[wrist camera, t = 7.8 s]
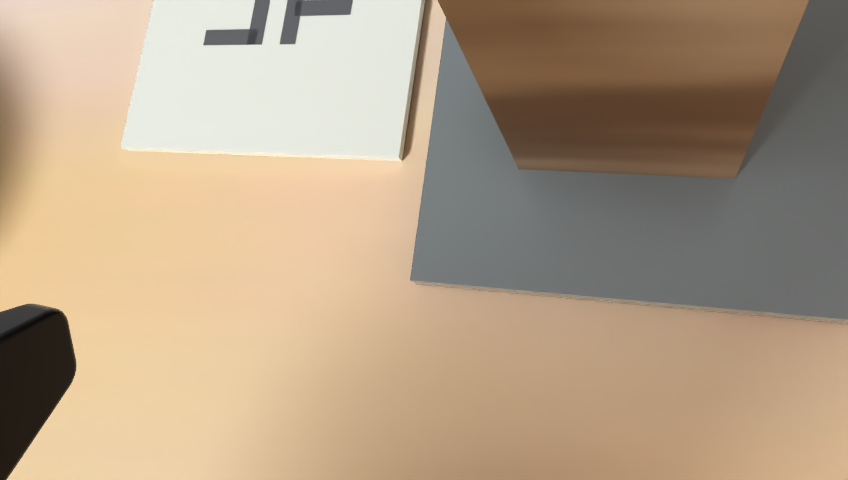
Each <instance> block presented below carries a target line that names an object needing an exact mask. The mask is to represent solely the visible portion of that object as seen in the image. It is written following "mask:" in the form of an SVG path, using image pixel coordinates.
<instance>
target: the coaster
mask: <svg viewBox="0 0 848 480" xmlns="http://www.w3.org/2000/svg"><path fill="white" fill-rule="evenodd" d="M410 281H412V282H414V283H415V284H418V285H429V286H440V287H451V288H462V289H473V290H484V291H495V292H506V293H517V294H528V295H539V296H550V297H561V298H572V299H583V300H594V301H604V302H615V303H626V304H637V305H648V306H659V307H670V308H681V309H692V310H703V311H714V312H725V313H736V314H747V315H758V316H769V317H780V318H791V319H802V320H813V321H824V322H834V323H845V324H848V0H809V1H808V4H807V6H806V9H805V11H804V14H803V16H802V18H801V21H800V23H799V26H798V28H797V30H796V33H795V35H794V38H793V40H792V43H791V45H790V47H789V50H788V52H787V55H786V57H785V59H784V62H783V64H782V67H781V69H780V72H779V74H778V76H777V79H776V81H775V84H774V86H773V89H772V91H771V93H770V96H769V98H768V101H767V103H766V105H765V108H764V110H763V113H762V115H761V118H760V120H759V122H758V125H757V127H756V130H755V132H754V134H753V137H752V139H751V142H750V144H749V147H748V149H747V151H746V154H745V156H744V159H743V161H742V163H741V166H740V168H739V171H738V173H737V176H736V178H735V179H730V178H707V177H684V176H661V175H638V174H616V173H593V172H570V171H547V170H524V169H518V166H517V164H516V162H515V160H514V158H513V156H512V154H511V152H510V150H509V148H508V146H507V144H506V141H505V139H504V137H503V135H502V133H501V131H500V129H499V127H498V125H497V123H496V121H495V119H494V116H493V114H492V112H491V110H490V108H489V106H488V104H487V102H486V100H485V98H484V96H483V93H482V91H481V89H480V87H479V85H478V83H477V81H476V79H475V77H474V75H473V73H472V71H471V68H470V66H469V64H468V62H467V60H466V58H465V56H464V54H463V52H462V50H461V48H460V46H459V43H458V41H457V39H456V37H455V35H454V33H453V31H452V29H451V27H450V25H449V23H448V21H447V18H446V23H445V30H444V38H443V45H442V52H441V60H440V67H439V74H438V81H437V89H436V96H435V103H434V111H433V118H432V125H431V132H430V140H429V147H428V154H427V161H426V169H425V176H424V183H423V191H422V198H421V205H420V212H419V220H418V227H417V234H416V241H415V249H414V256H413V263H412V271H411V278H410Z"/></svg>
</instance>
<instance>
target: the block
mask: <svg viewBox="0 0 848 480" xmlns="http://www.w3.org/2000/svg"><path fill="white" fill-rule="evenodd" d="M808 1H809V0H438V2H439V4H440V6H441V8H442V10H443V12H444V14H445V16H446V18H447V21H448V23H449V25H450V27H451V29H452V31H453V33H454V35H455V37H456V39H457V41H458V43H459V46H460V48H461V50H462V52H463V54H464V56H465V58H466V60H467V62H468V64H469V66H470V68H471V71H472V73H473V75H474V77H475V79H476V81H477V83H478V85H479V87H480V89H481V91H482V93H483V96H484V98H485V100H486V102H487V104H488V106H489V108H490V110H491V112H492V114H493V116H494V119H495V121H496V123H497V125H498V127H499V129H500V131H501V133H502V135H503V137H504V139H505V141H506V144H507V146H508V148H509V150H510V152H511V154H512V156H513V158H514V160H515V162H516V164H517V166H518V169H524V170H547V171H570V172H593V173H616V174H638V175H661V176H684V177H707V178H730V179H735V178H736V176H737V173H738V171H739V168H740V166H741V163H742V161H743V159H744V156H745V154H746V151H747V149H748V147H749V144H750V142H751V139H752V137H753V134H754V132H755V130H756V127H757V125H758V122H759V120H760V118H761V115H762V113H763V110H764V108H765V105H766V103H767V101H768V98H769V96H770V93H771V91H772V89H773V86H774V84H775V81H776V79H777V76H778V74H779V72H780V69H781V67H782V64H783V62H784V59H785V57H786V55H787V52H788V50H789V47H790V45H791V43H792V40H793V38H794V35H795V33H796V30H797V28H798V26H799V23H800V21H801V18H802V16H803V14H804V11H805V9H806V6H807V4H808Z"/></svg>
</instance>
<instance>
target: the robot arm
mask: <svg viewBox="0 0 848 480" xmlns="http://www.w3.org/2000/svg"><path fill="white" fill-rule="evenodd" d="M75 372H76V358H75V353H74V349H73V344H72V339H71V334H70V329H69V324H68V320H67V317H66V316H65V315H64V313H63V312H62V311H60V310H59V309H56V308H51V307H47V306H42V305H38V304H25V305H22V306H18V307H15V308H12V309H9V310H5V311H2V312H0V480H6V479H7V478H8V476H9V475H10V474H11V472H12V471H13V469H14V468H15V466H16V465H17V463H18V462H19V461H20V459H21V458H22V456H23V455H24V453H25V452H26V450H27V449H28V447H29V446H30V444H31V443H32V441H33V440H34V438H35V437H36V435H37V434H38V432H39V431H40V429H41V428H42V426H43V425H44V423H45V422H46V420H47V419H48V417H49V416H50V414H51V413H52V411H53V410H54V409H55V407H56V406H57V404H58V403H59V401H60V400H61V398H62V397H63V395H64V394H65V392H66V391H67V389H68V388H69V386H70V385H71V383H72V381H73V378H74V376H75Z"/></svg>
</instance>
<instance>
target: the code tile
mask: <svg viewBox="0 0 848 480" xmlns="http://www.w3.org/2000/svg"><path fill="white" fill-rule="evenodd" d="M424 5H425V0H153V4H152V9H151V13H150V18H149V22H148V26H147V31H146V35H145V40H144V44H143V49H142V53H141V57H140V62H139V66H138V71H137V75H136V80H135V84H134V88H133V93H132V97H131V102H130V106H129V111H128V115H127V119H126V124H125V128H124V133H123V137H122V142H121V146H120V147H121V148H123V149H125V150H127V151H151V152H177V153H203V154H229V155H255V156H281V157H306V158H332V159H358V160H384V161H402V158H403V151H404V144H405V137H406V130H407V123H408V116H409V109H410V102H411V95H412V88H413V82H414V75H415V68H416V61H417V54H418V47H419V40H420V33H421V26H422V19H423V12H424Z"/></svg>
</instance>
